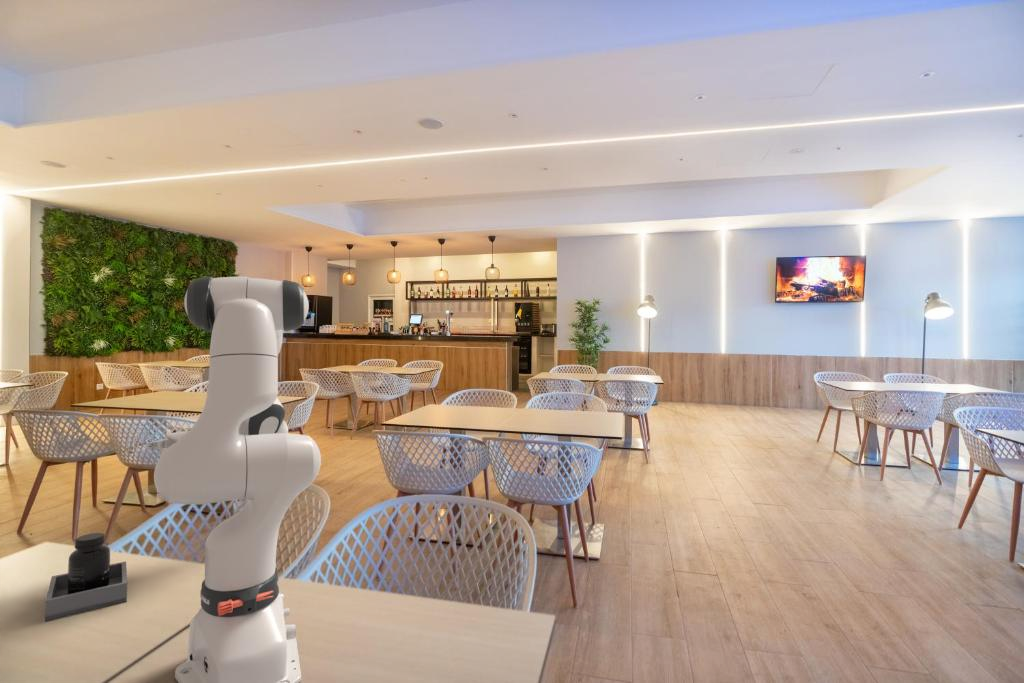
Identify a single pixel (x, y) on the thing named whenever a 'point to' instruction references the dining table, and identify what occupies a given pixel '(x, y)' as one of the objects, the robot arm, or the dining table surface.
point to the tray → (85, 594)
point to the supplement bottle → (89, 563)
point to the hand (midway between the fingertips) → (154, 449)
